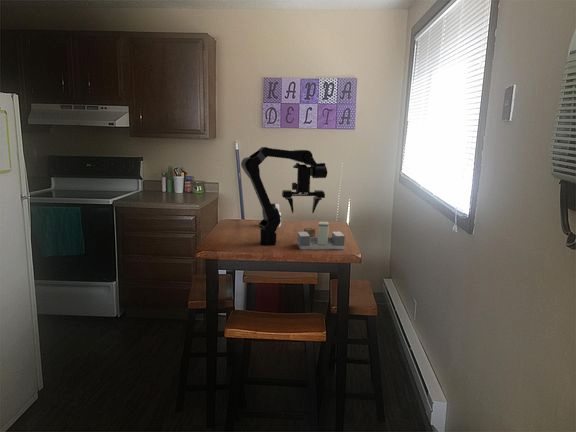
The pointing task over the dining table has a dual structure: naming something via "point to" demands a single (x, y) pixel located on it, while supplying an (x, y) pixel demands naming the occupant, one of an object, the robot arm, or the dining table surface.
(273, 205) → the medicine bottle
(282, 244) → the dining table surface
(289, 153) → the robot arm
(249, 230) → the dining table surface
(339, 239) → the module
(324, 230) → the block
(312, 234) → the walnut block
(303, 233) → the block
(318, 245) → the grey base plate
